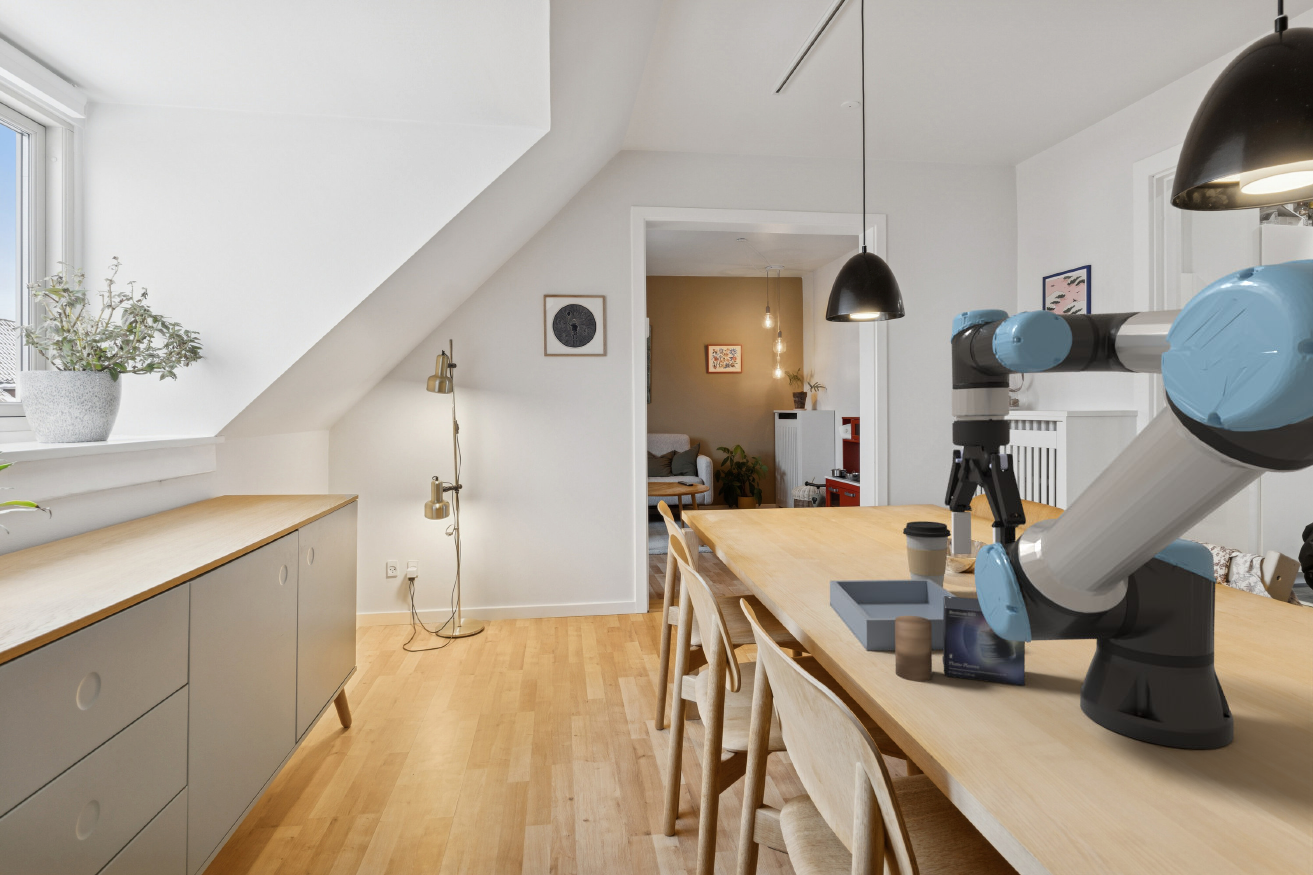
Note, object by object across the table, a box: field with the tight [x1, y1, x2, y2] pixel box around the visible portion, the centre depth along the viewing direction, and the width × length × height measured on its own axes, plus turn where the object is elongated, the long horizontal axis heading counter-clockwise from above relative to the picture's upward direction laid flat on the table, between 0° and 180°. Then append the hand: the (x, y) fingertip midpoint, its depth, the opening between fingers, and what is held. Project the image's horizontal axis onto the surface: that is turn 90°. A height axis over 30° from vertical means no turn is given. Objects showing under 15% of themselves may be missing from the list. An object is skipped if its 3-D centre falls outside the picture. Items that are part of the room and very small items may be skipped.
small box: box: [942, 596, 1026, 687], centre depth 97 cm, size 11×6×10 cm, turn 68°
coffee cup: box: [902, 520, 952, 588], centre depth 140 cm, size 9×9×15 cm
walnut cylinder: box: [894, 616, 933, 682], centre depth 97 cm, size 5×5×8 cm
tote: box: [829, 579, 957, 652], centre depth 120 cm, size 26×20×5 cm
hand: (981, 563), depth 97 cm, fingers open, 13 cm apart
